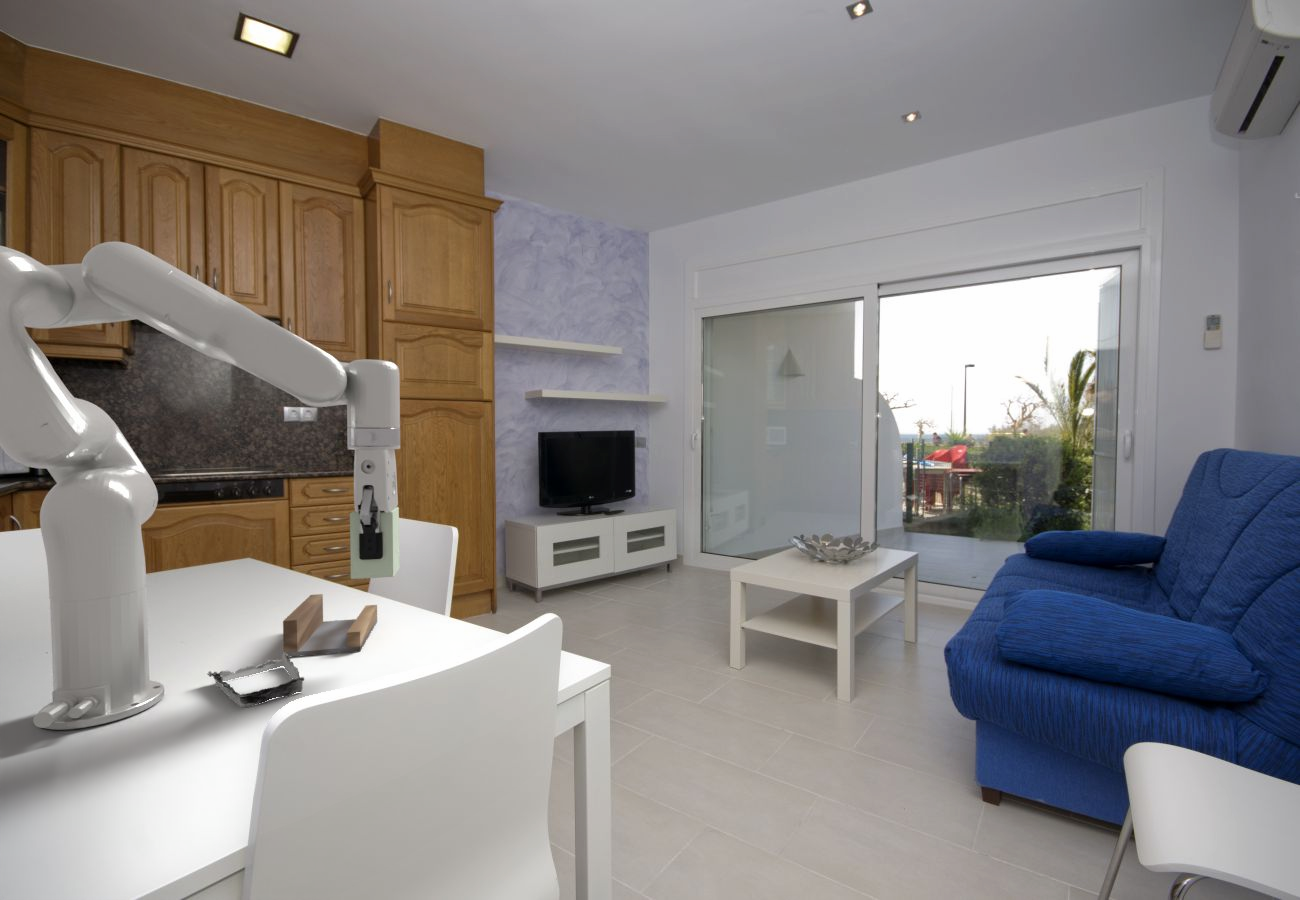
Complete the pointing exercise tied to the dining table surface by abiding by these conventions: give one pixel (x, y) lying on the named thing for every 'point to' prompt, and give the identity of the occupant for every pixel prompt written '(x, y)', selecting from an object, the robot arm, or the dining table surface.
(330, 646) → the cleat board
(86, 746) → the dining table surface
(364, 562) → the pale green tall block
